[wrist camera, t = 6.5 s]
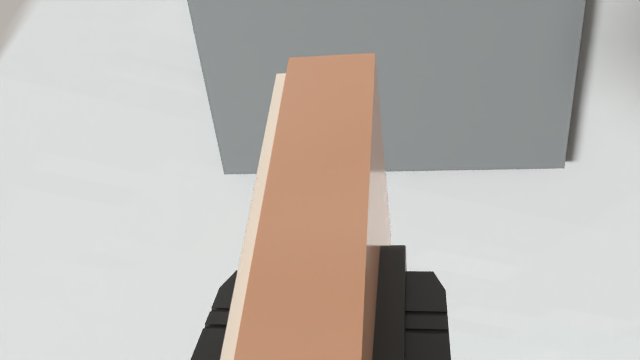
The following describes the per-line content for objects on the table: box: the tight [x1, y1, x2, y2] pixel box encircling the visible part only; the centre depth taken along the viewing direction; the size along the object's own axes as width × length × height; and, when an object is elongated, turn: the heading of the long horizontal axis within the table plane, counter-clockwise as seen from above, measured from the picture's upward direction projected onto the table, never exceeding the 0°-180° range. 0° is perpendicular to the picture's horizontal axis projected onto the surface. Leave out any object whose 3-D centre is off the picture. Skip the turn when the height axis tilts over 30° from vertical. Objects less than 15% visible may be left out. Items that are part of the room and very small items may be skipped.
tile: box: [220, 53, 391, 360], centre depth 11 cm, size 2×6×7 cm, turn 6°
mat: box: [187, 0, 586, 174], centre depth 25 cm, size 16×12×1 cm
